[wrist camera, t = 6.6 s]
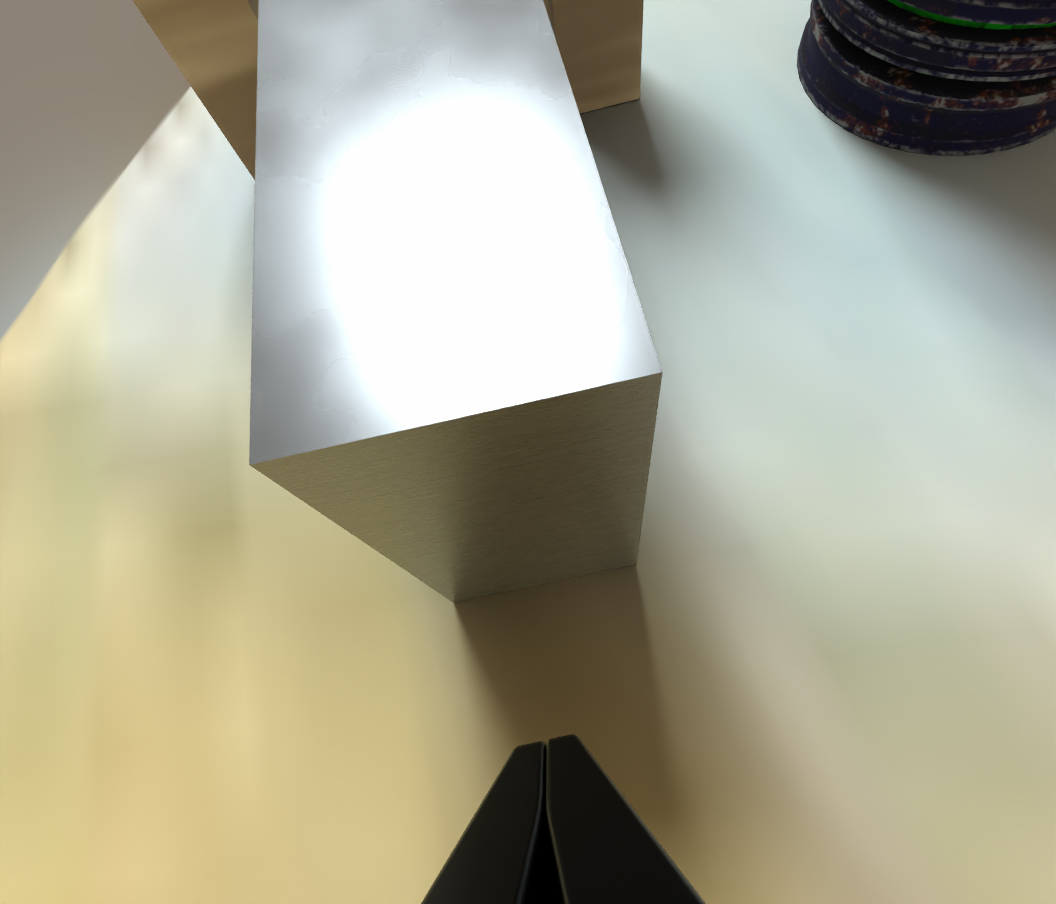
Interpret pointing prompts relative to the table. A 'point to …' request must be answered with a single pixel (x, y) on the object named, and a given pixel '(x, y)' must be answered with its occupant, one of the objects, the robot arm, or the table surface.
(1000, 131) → the storage jar
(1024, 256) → the table surface
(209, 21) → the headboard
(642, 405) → the silver rectangular block
